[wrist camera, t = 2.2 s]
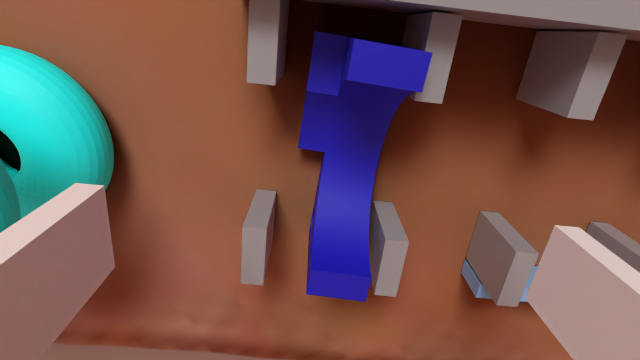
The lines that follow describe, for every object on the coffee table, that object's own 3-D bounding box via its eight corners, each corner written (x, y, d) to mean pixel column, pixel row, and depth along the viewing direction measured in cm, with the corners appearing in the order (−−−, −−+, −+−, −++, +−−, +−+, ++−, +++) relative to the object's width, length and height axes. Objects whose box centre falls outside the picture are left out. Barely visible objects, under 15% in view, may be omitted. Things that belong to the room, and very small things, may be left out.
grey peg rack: (726, 25, 19) (897, 24, 13) (597, 284, 25) (676, 357, 19) (241, -35, 17) (206, -64, 12) (235, 252, 24) (210, 319, 18)
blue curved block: (315, 30, 19) (314, 31, 13) (399, 45, 19) (432, 52, 14) (286, 228, 23) (276, 290, 18) (354, 237, 24) (365, 301, 18)
